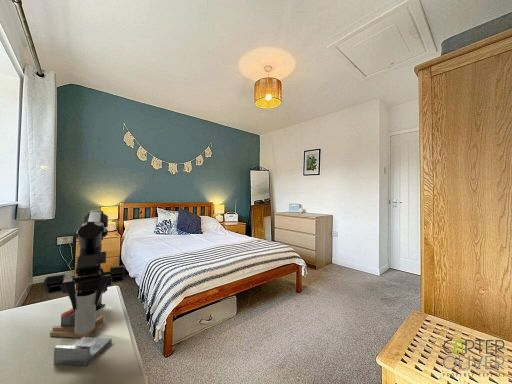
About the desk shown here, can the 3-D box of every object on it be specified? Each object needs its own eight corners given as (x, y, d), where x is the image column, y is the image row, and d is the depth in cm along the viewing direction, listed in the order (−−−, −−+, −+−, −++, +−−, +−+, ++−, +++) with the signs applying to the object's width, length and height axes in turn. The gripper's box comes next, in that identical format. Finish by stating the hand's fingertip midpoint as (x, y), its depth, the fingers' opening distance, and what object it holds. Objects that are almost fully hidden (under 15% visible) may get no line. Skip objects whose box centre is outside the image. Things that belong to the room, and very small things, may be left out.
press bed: (82, 341, 66) (83, 327, 66) (111, 342, 65) (112, 328, 65) (53, 363, 57) (54, 347, 57) (86, 365, 56) (87, 349, 56)
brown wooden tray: (70, 323, 75) (70, 313, 75) (103, 324, 74) (104, 315, 74) (50, 336, 68) (50, 325, 68) (86, 337, 67) (87, 327, 67)
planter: (88, 334, 59) (89, 296, 59) (70, 334, 59) (71, 296, 59) (98, 324, 64) (99, 288, 64) (81, 324, 63) (83, 289, 63)
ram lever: (72, 320, 74) (72, 305, 74) (80, 321, 73) (81, 305, 74) (57, 329, 69) (58, 313, 69) (66, 330, 68) (67, 313, 69)
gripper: (46, 246, 60) (32, 304, 50) (125, 240, 70) (126, 287, 61) (51, 267, 66) (40, 321, 57) (123, 258, 76) (124, 303, 67)
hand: (85, 307), depth 60 cm, fingers closed on planter, 4 cm apart
